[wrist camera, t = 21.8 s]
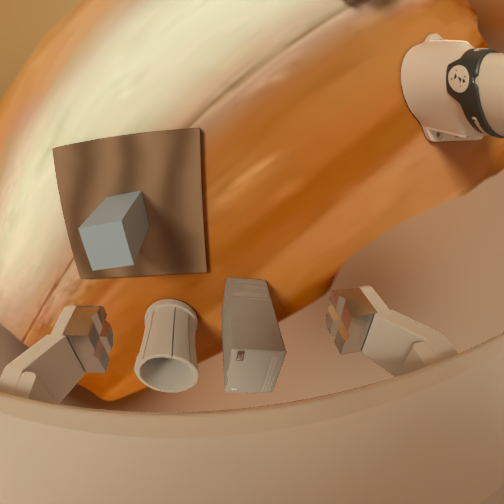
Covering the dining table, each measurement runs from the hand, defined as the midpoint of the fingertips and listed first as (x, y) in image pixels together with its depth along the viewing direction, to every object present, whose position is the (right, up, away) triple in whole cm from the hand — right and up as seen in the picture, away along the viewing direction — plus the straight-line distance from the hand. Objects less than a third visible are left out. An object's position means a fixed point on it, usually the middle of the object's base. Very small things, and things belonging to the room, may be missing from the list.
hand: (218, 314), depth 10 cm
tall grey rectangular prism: (-15, +7, +26) cm, 31 cm away
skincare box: (-1, -5, +36) cm, 37 cm away
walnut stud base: (-15, +8, +27) cm, 32 cm away
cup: (-13, -9, +37) cm, 40 cm away
